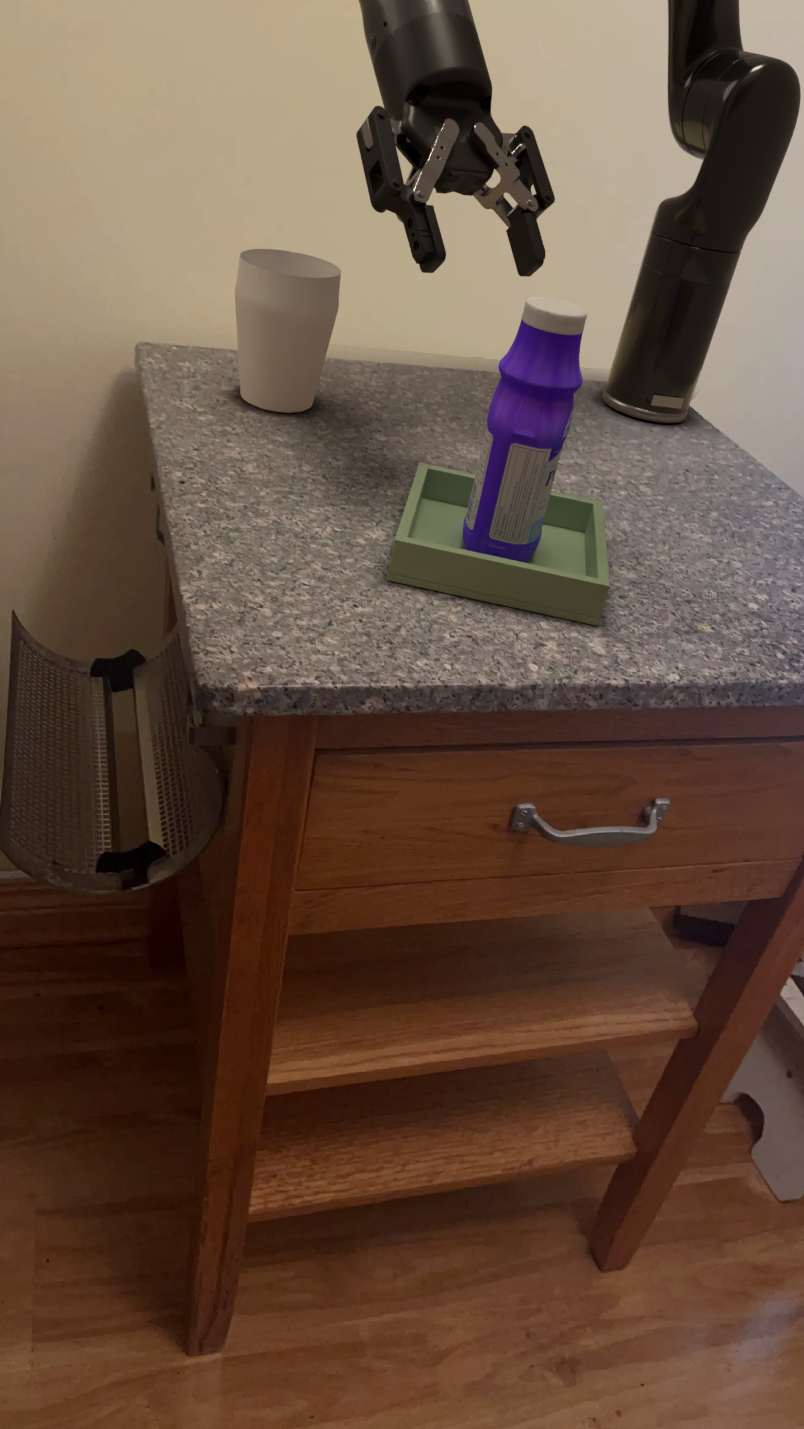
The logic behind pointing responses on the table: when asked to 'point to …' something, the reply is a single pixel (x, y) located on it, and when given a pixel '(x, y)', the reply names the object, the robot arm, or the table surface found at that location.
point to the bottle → (526, 431)
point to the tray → (548, 583)
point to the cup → (283, 326)
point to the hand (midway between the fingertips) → (485, 269)
